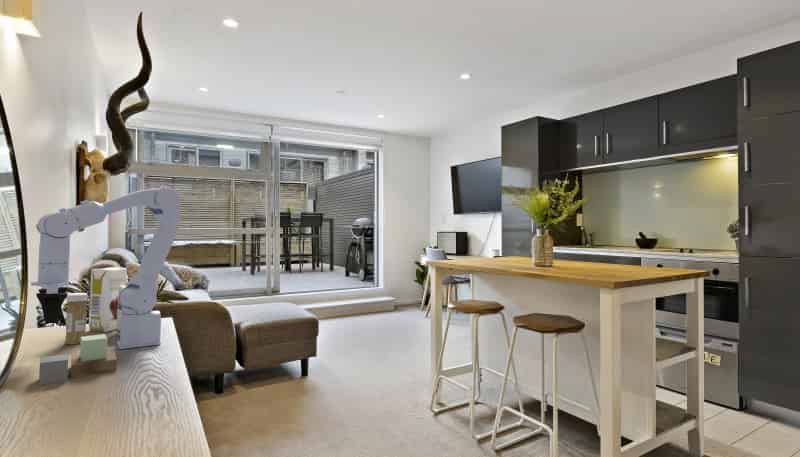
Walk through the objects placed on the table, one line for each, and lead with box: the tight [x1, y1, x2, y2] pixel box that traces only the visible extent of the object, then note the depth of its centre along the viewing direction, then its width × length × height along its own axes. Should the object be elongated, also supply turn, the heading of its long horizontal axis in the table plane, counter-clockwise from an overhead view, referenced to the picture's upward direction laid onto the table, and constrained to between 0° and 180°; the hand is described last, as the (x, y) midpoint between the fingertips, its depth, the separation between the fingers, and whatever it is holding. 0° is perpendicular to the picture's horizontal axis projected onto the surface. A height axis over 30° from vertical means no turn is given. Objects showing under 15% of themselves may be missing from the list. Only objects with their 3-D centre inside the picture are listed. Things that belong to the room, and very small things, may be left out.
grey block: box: [38, 354, 69, 386], centre depth 88 cm, size 4×4×4 cm
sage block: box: [79, 333, 109, 362], centre depth 96 cm, size 4×4×4 cm
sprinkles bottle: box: [64, 292, 89, 345], centre depth 116 cm, size 5×5×13 cm
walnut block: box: [70, 350, 118, 378], centre depth 96 cm, size 8×8×3 cm
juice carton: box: [88, 266, 127, 333], centre depth 132 cm, size 8×9×19 cm
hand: (51, 320), depth 101 cm, fingers open, 7 cm apart
